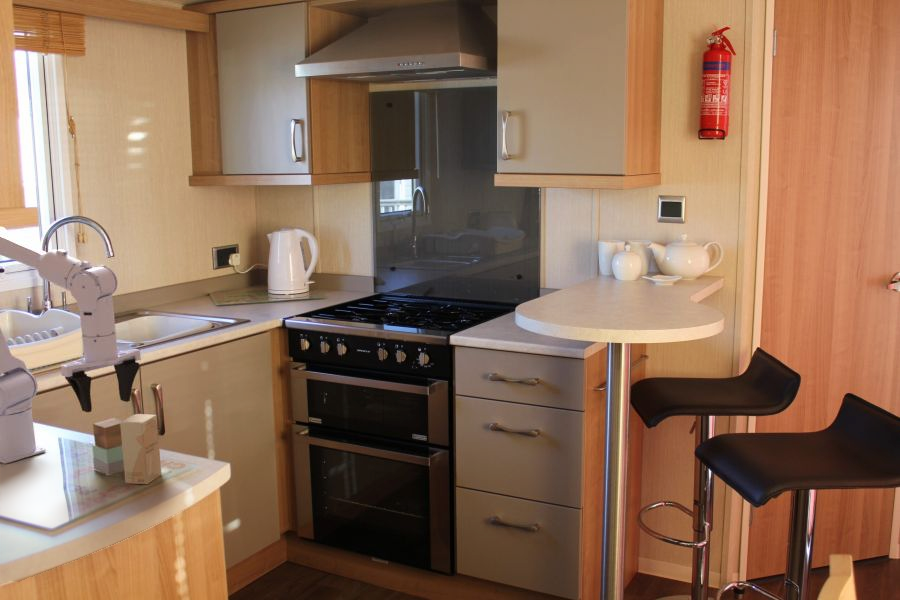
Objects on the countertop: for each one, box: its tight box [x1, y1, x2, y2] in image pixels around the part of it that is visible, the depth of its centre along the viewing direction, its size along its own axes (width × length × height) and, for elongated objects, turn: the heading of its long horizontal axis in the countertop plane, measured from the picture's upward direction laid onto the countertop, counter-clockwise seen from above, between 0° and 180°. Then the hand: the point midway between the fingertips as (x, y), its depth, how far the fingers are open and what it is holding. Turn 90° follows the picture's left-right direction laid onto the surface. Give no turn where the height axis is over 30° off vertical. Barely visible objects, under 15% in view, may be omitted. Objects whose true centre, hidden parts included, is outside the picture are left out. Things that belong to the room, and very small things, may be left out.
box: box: [120, 413, 162, 485], centre depth 155 cm, size 5×4×11 cm
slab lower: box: [92, 457, 125, 476], centre depth 161 cm, size 5×5×2 cm
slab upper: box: [91, 443, 123, 464], centre depth 161 cm, size 5×5×2 cm
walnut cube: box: [92, 417, 123, 449], centre depth 160 cm, size 4×4×4 cm
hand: (106, 405), depth 164 cm, fingers open, 7 cm apart
